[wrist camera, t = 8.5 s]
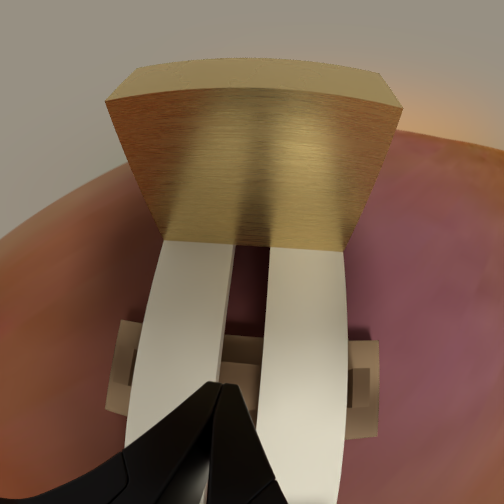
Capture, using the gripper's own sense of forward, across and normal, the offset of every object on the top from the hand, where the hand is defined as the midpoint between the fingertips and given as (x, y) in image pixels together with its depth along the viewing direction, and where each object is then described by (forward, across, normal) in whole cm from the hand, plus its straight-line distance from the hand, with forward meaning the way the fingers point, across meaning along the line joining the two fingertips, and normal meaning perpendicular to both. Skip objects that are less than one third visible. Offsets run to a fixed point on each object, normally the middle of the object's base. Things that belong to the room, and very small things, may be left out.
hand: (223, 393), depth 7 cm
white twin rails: (+6, 0, +2) cm, 7 cm away
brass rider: (+12, 0, -5) cm, 13 cm away
